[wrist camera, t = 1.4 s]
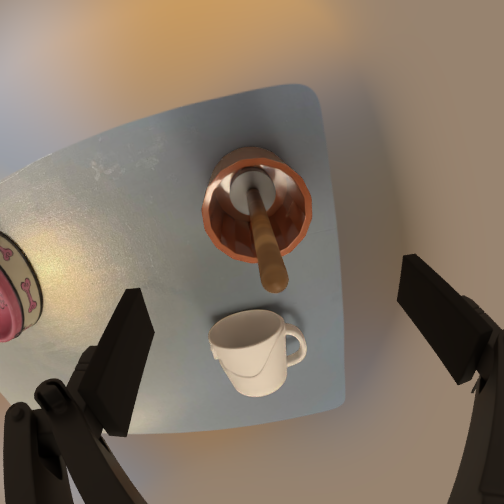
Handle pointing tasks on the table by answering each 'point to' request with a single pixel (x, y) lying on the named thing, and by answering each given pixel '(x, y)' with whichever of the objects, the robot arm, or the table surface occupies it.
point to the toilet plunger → (260, 223)
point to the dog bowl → (17, 292)
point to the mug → (255, 350)
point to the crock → (239, 225)
